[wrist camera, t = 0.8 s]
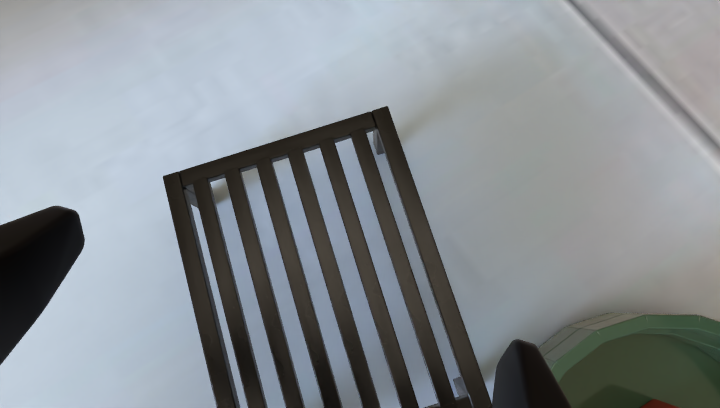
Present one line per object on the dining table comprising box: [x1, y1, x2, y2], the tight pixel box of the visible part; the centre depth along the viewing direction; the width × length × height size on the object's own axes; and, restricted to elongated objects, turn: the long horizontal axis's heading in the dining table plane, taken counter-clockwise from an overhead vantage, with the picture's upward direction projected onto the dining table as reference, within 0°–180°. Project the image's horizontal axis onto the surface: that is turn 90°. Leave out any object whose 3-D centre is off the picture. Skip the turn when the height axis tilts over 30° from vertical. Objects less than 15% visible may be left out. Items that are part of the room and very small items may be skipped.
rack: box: [163, 106, 492, 408], centre depth 23 cm, size 14×11×5 cm
